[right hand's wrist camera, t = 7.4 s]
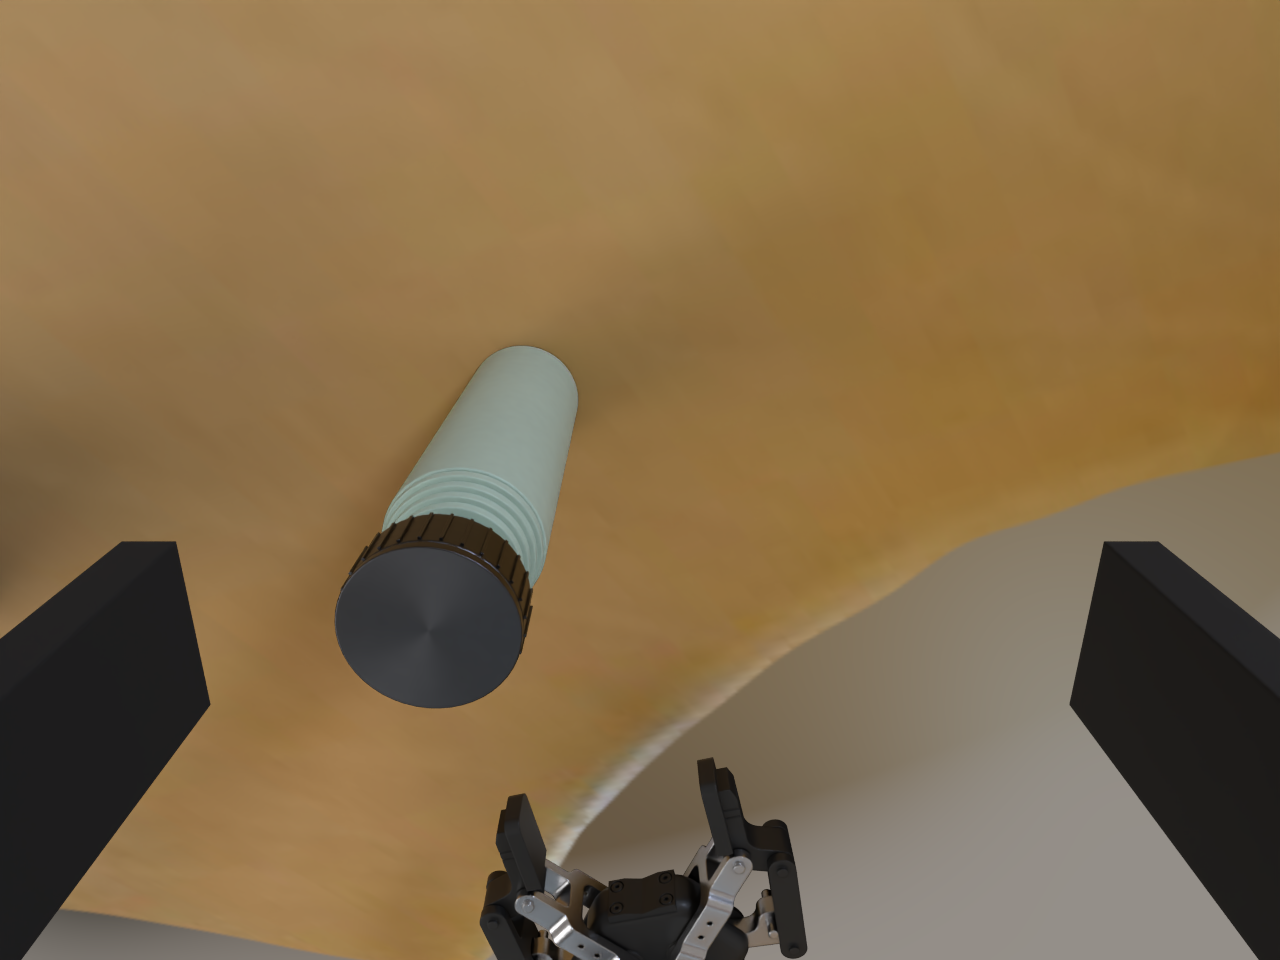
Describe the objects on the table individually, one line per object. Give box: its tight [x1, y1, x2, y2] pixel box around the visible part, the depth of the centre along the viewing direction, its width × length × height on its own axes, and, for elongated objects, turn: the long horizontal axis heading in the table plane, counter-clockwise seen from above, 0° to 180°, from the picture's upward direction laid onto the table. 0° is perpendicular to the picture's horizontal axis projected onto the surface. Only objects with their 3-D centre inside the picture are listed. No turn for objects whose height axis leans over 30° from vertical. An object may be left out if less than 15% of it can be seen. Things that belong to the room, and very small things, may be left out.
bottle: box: [382, 346, 578, 588], centre depth 29 cm, size 5×5×18 cm
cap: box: [335, 512, 533, 708], centre depth 22 cm, size 4×4×2 cm
